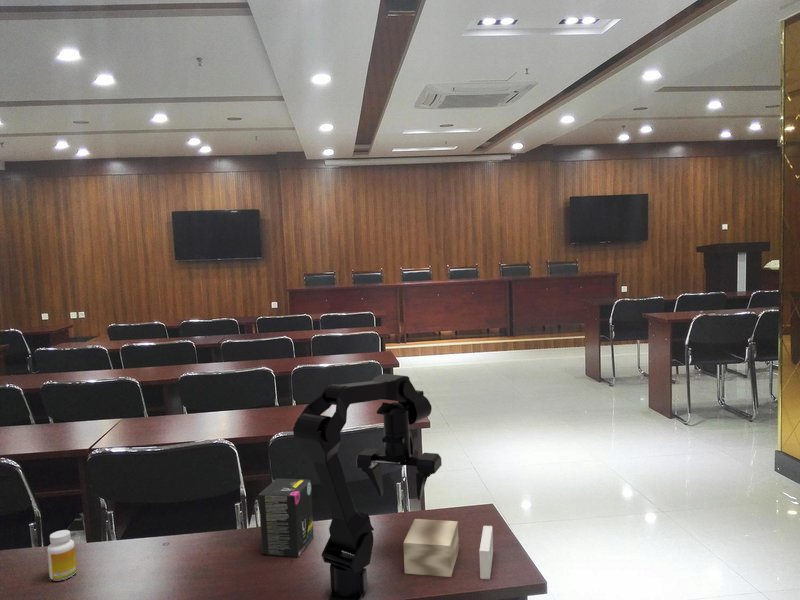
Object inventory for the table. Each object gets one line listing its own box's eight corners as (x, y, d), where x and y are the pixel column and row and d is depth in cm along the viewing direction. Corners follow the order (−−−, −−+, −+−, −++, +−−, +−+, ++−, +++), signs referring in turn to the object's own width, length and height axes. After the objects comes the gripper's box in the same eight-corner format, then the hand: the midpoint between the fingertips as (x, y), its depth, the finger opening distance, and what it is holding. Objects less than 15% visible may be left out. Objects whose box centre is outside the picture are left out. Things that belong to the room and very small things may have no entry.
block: (404, 574, 133) (403, 542, 132) (416, 547, 144) (414, 518, 144) (451, 578, 130) (449, 545, 130) (458, 551, 142) (457, 521, 142)
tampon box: (299, 558, 141) (295, 495, 140) (261, 555, 143) (257, 494, 142) (315, 536, 152) (312, 478, 151) (279, 534, 154) (276, 477, 153)
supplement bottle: (82, 573, 138) (79, 531, 137) (58, 584, 134) (55, 541, 133) (68, 568, 141) (64, 526, 140) (44, 579, 136) (40, 536, 136)
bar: (480, 578, 129) (479, 550, 129) (484, 551, 141) (483, 525, 141) (489, 579, 129) (489, 551, 128) (493, 551, 141) (492, 526, 140)
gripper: (446, 421, 143) (450, 487, 144) (372, 417, 149) (376, 480, 151) (432, 436, 132) (435, 507, 134) (352, 431, 139) (357, 499, 140)
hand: (400, 497), depth 140 cm, fingers open, 9 cm apart
